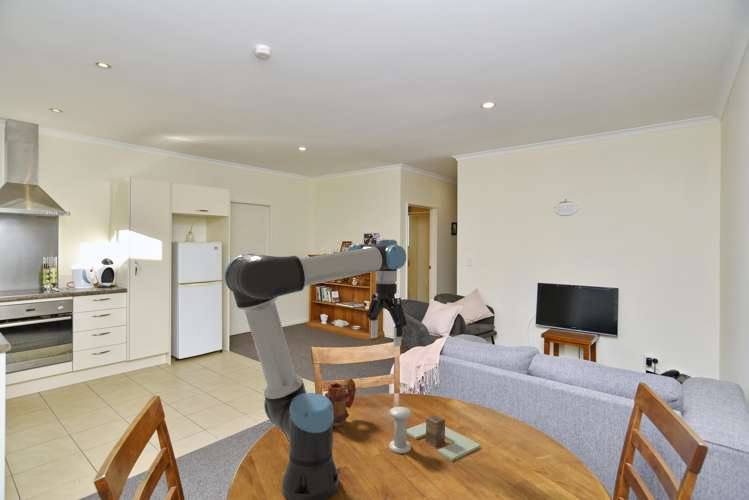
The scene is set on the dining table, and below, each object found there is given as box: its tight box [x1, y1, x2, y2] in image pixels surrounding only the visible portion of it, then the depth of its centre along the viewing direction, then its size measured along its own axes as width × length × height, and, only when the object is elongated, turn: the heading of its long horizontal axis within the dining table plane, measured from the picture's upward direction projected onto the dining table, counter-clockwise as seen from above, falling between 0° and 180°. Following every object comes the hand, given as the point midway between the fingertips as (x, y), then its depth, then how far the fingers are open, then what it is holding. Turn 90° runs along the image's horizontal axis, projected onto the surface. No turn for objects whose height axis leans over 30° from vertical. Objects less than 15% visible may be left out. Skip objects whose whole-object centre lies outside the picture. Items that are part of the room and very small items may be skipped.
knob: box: [388, 406, 413, 455], centre depth 123 cm, size 7×7×12 cm
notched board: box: [407, 421, 481, 462], centre depth 129 cm, size 14×22×1 cm, turn 37°
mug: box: [324, 377, 357, 427], centre depth 141 cm, size 15×8×15 cm, turn 143°
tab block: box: [425, 414, 446, 448], centre depth 127 cm, size 4×4×8 cm
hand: (385, 341), depth 135 cm, fingers open, 13 cm apart
